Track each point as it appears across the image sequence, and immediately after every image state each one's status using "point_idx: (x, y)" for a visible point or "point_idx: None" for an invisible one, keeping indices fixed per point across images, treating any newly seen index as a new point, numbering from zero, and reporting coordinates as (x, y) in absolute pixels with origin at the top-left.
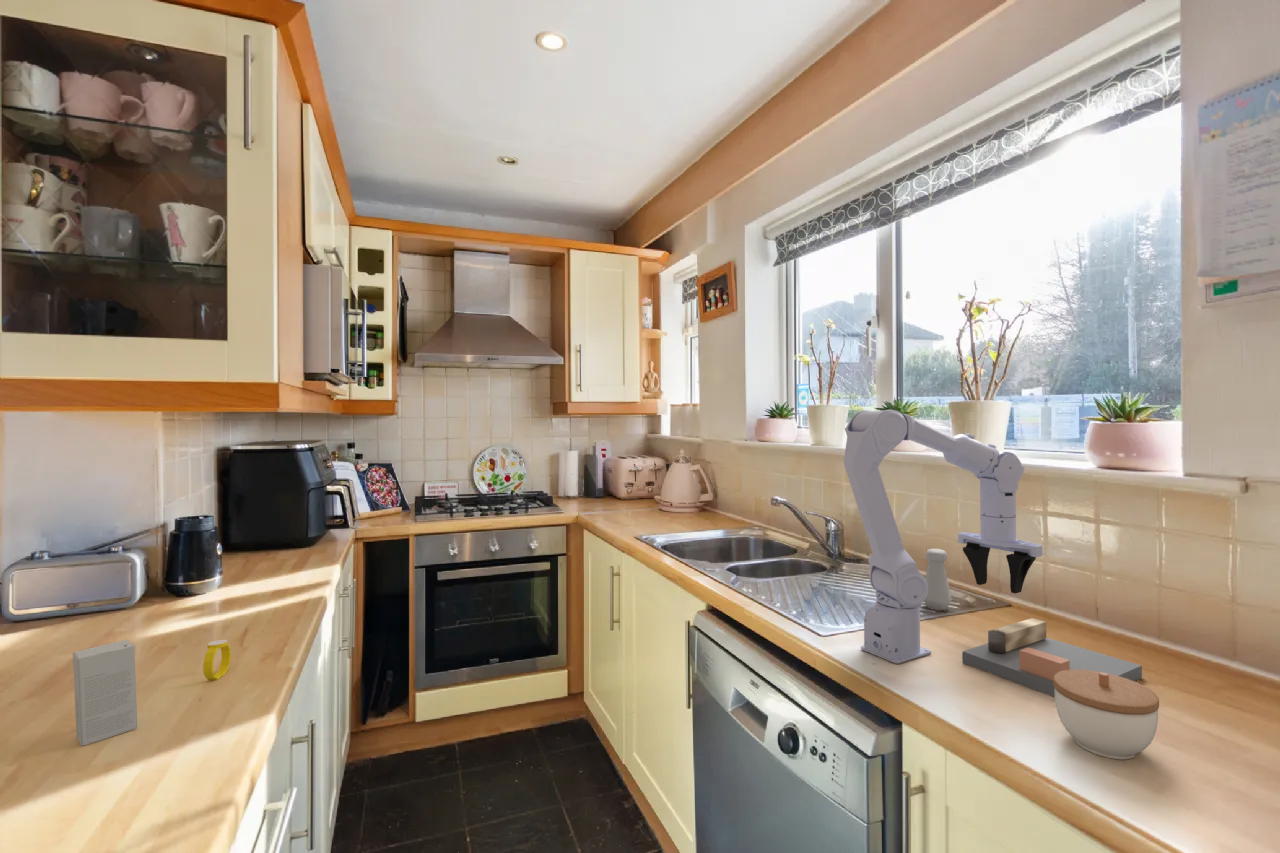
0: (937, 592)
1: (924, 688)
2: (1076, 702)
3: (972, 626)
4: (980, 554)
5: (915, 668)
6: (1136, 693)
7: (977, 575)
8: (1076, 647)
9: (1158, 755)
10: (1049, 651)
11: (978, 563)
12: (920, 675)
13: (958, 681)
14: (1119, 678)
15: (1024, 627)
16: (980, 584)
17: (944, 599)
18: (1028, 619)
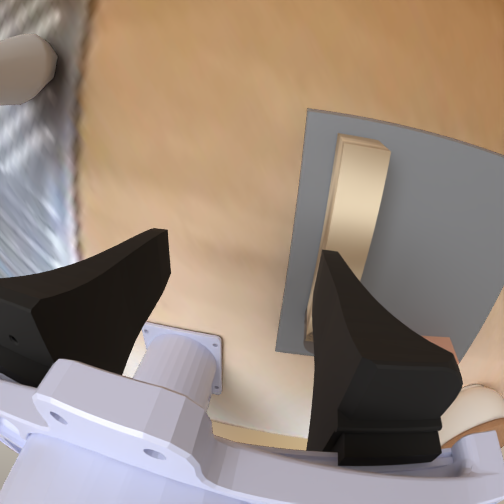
0: (18, 93)
1: (287, 416)
2: None
3: (155, 105)
4: (97, 365)
5: (244, 386)
6: (499, 443)
7: (150, 306)
8: (447, 148)
9: (501, 380)
10: (407, 230)
11: (124, 342)
12: (262, 397)
13: (307, 386)
14: (497, 432)
15: (360, 261)
16: (169, 270)
17: (39, 76)
18: (341, 170)
